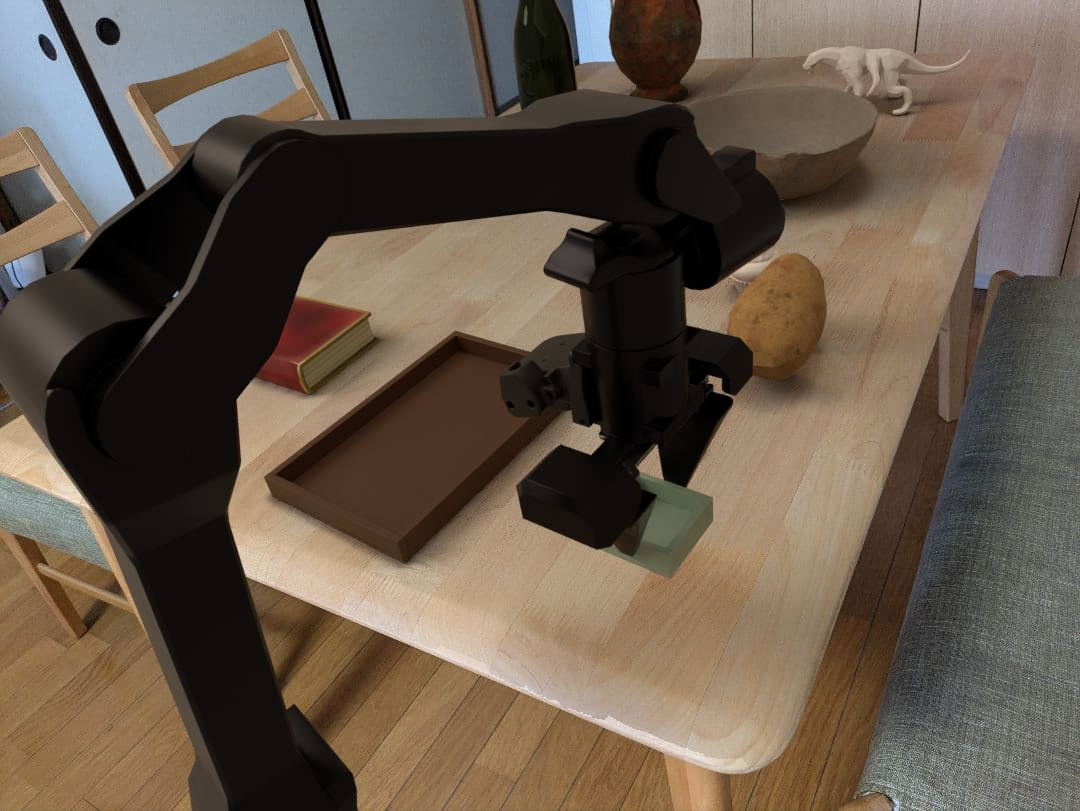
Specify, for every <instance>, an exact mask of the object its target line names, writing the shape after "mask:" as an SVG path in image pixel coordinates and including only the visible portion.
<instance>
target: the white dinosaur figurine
mask: <svg viewBox="0 0 1080 811" xmlns="http://www.w3.org/2000/svg"><path fill="white" fill-rule="evenodd" d="M971 51H972V48H970V49H969V50H968V51H967V52H966V53H965V55H964V56H963V57H962V58H961V59H960V60H958V61H957V62H954V63H952V64H949V65H943V66H942V65H941V66H939V65H938V66H933V65H928V64H925V63H923V62H921V61H919V60H918V59H916V58H915V57H914V56H912V55H911V54H909V53H907V52H905V51H903V50H898V49H894V48H891V47H887V48H868V49H867V48H863V47H859V46H854V45H848V46H843V47H838V46H830V47H823V48H820V49H817V50H815V51H814V52H810V53H809V55H808V56H807V58H806V60H805V61H804V63H803V64H802V68H803V69H804V70H805V71H806V70H809V69H810V68H811V69H810V70H809V71H808V75H813V74H814V73H815V71H816V70H817V68H818V67H819V66H820V65H827V66H829V67H831V68H833V70H834V71H835V73H836V74H837V76H838V78H840V80H841V81H842V80H843V81H844V80H845V81H847V83H848V84H847V85H846V88H845V89H843V90H842V89H841V90H842V91H846V92H849V93H851V92H852V90H853V94H855V95H857V96H860V97H862V95H863V91H864V87H863V84H862V81H861V78H862V76H865V75H867V74H868V73H870V75H871V77H872V85H871V87H870V88H869V90H868V92H867V93H866V96H865V98H869V97H870V96H871V95H873V93H874V92H875V90H876V89H877V88H878V86H879V85H881V88H882V91H883V92H884V94H885V95H887V96H888V98H889V99H898V98H901V97H903V102H904V103H903V105H902V107H901V108H898V109H897V108H896V109H893V110H892V111H891V113H892V115H894V116H902V115H904V114H905V113H907V112H908V111H909V109H910V108H911V106H912V104H913V92H912V90H911V88H909V87H908V76H907V75H911V76H913V75H914V76H933V75H939V74H944V73H948V72H951V71H953V70H955V69H957V68H958V67H960V66H962V65H963V63H965V62H966V61H967V59H968V58H969V55H970V53H971ZM898 83H899V86H898Z"/></svg>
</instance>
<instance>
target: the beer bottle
mask: <svg viewBox="0 0 1080 811" xmlns="http://www.w3.org/2000/svg"><path fill="white" fill-rule="evenodd" d="M512 49H513V59H514V60H513V61H514V67H515V75H516V83H517V90H518V97H519V105H520V111H522V110H524V109H525V108H526V107H528V106H529V105H530V104H532V103H533V102H535V101H536V100H539V99H543V98H547V97H551V96H555V95H559V94H563V93H567V92H571V91H575V90H579V88H578V81H577V79H578V78H577V72H576V64H575V57H574V50H573V45H572V39H571V32H570V30H569V26H568V23H567V20H566V18H565V15H564V14H563V12H562V10H561V8H560V6H559V3H558V2H557V0H518V1H517V8H516V13H515V18H514V25H513V29H512Z"/></svg>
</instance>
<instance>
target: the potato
mask: <svg viewBox="0 0 1080 811" xmlns="http://www.w3.org/2000/svg"><path fill="white" fill-rule="evenodd" d="M827 315H828V304H827V299H826V290H825V280H824V278H823V276H822V274H821V271H820V269H819V268H818V267H817V266H816V265H815V264H814V263H813V261H811V259H809V258H808V257H807V256H805V255H803V254H800V253H797V252H789V253H787V252H786V253H783V254H781V255H780V257H778V258H776V259H774V260H773V261H772V262H771V263H770V264H769V265H768V266H767V267H766V268H765V269H764V270H763V271H762V272H761V274H760V275H759V276H758V277H757V278H756V279H755V280H754V281H753V282H752V283H751V284H750V285H749V286H748V287H747V288H746V289H745V290H744V291H743V292H742V293H739V295H738V297H737V299H736V301H735V302H734V304H733V306H732V308H731V310H730V312H729V315H728V322H727V331H726V334H727V335H731V336H735V337H740V338H741V339H742V340H743V341H744V343H745V344H746V345H747V346H748V347H749V348H750V349H751V351H752V352H753V376H755V377H759V378H763V379H770V380H787V378H790V377H791V376H793V375H794V374H796V373H797V372H798V371H799V370H800V369H801V368H803V367H804V366H805V365H806V364H807V363H808V361H809V359H810V358H811V356H812V355H813V353H814V351H815V349H816V347H817V345H818V343H819V342H820V340H821V337H822V335H823V332H824V329H825V324H826V320H827Z"/></svg>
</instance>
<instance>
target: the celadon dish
mask: <svg viewBox="0 0 1080 811" xmlns="http://www.w3.org/2000/svg"><path fill="white" fill-rule="evenodd" d="M639 472H640V480H639V481H638V482H639V483H640V484H641V489H643V490H646V491H649V492H651V493H654V494H657V499H656V501H655V504H654V507H653V510H652V513H651V515H650V518H649V520H648V523H647V526H646V529H645V532H644V534H643V537H642V540H641V543H640V545H639V547H638V550H637V552H636V554H635V555H634V556H633V557H630V556H628V555H625V554H623V553H621V552H619V551H618V549H617V548H616V547H615V545H614V544H613V545H612V546H611V547H608V548H604V549H599V550H600V551H602V552H605V553H607V554H609V555H612V556H614V557H617V558H619V559H621V560H624V561H625V562H628V563H630V564H634V565H636V566H638V567H640V568H642V569H645V570H647V571H649V572H651V573H655V574H657V575H659V576H661V577H664V578H666V579H669V580H671V579H672V578H673V577H674V575H675V573H677V571H678V570H679V569H680V567H681V566H682V564H683V563H684V562H685V560H686V559H687V558H688V556H689V555H690V553H691V552H692V550H693V549H694V548H695V547H696V545H697V544H698V542H699V541H700V540H701V538H702V537H703V535H704V534H705V533H706V531H708V529H709V528H710V527H711V525H712V523H713V522H714V497H713V496H711V495H708V494H705V493H702V492H700V491H697V490H693V489H691V488H688V487H687V488H685V487H682V486H679V485H676V484H673V483H671V482H668V481H665V480H664V479H663V478H659V477H657V476H653V475H651V474H648V473H645V472H643V471H640V470H639Z"/></svg>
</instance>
